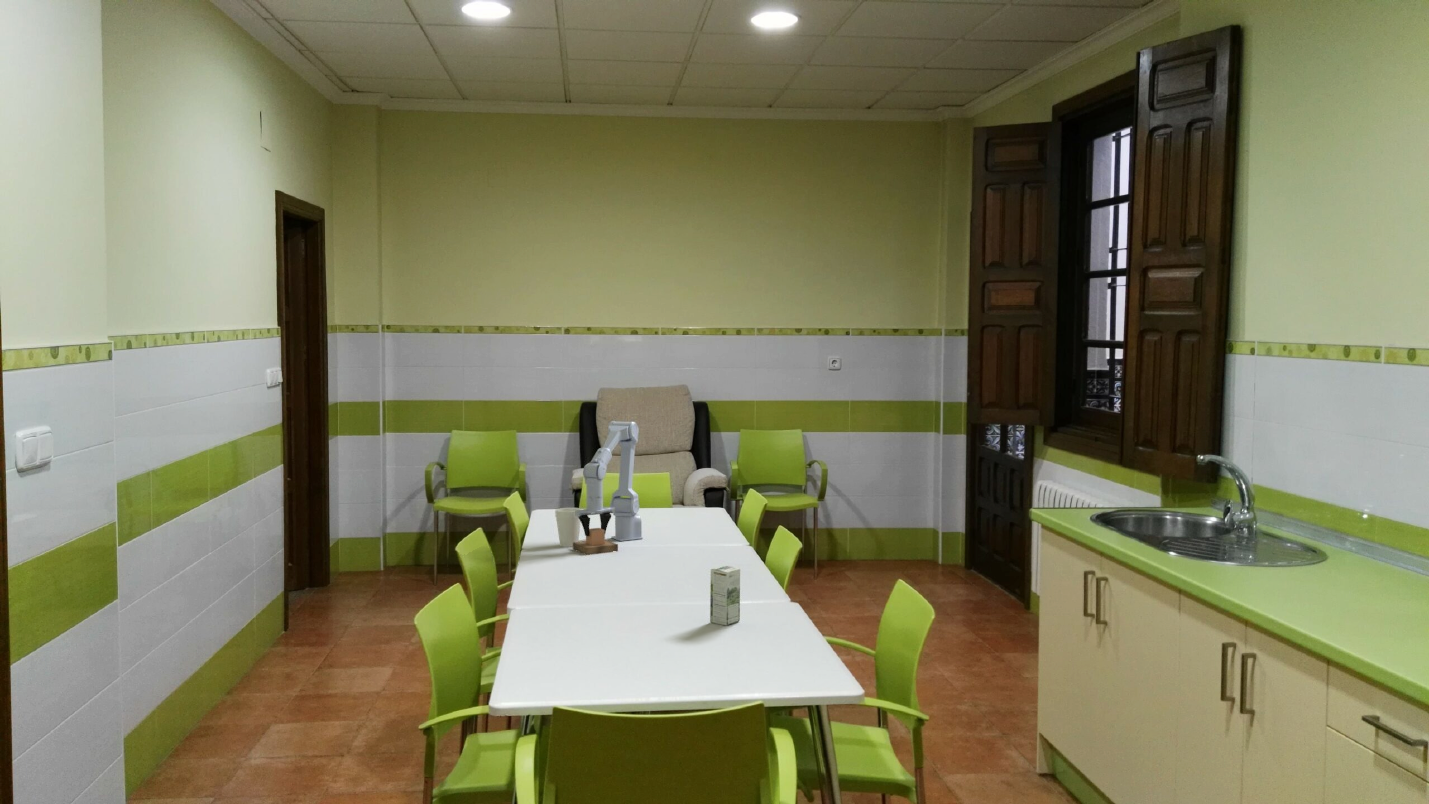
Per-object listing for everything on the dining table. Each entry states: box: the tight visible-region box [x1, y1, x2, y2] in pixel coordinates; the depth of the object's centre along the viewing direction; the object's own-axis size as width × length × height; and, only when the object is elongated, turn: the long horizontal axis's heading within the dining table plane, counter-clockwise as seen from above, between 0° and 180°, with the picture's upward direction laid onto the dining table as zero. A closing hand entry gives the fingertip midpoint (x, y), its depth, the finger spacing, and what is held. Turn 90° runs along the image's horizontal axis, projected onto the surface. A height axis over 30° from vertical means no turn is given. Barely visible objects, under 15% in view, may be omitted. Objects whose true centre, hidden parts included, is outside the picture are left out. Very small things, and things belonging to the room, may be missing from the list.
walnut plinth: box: [572, 539, 619, 556], centre depth 375 cm, size 12×12×3 cm
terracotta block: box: [585, 527, 606, 545], centre depth 374 cm, size 5×5×5 cm
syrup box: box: [709, 565, 741, 626], centre depth 279 cm, size 6×6×14 cm
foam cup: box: [554, 507, 583, 548], centre depth 383 cm, size 10×9×13 cm
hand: (595, 534), depth 375 cm, fingers open, 6 cm apart
